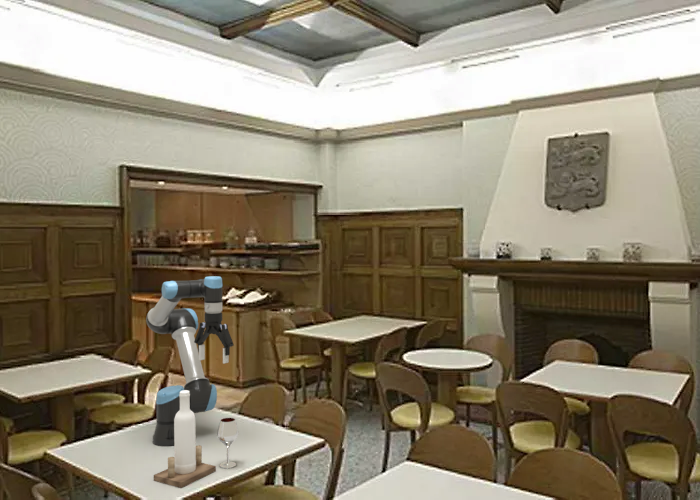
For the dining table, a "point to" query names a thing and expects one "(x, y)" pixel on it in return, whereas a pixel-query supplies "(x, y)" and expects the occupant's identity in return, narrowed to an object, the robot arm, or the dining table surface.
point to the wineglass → (227, 437)
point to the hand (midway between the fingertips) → (213, 361)
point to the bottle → (184, 436)
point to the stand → (184, 479)
